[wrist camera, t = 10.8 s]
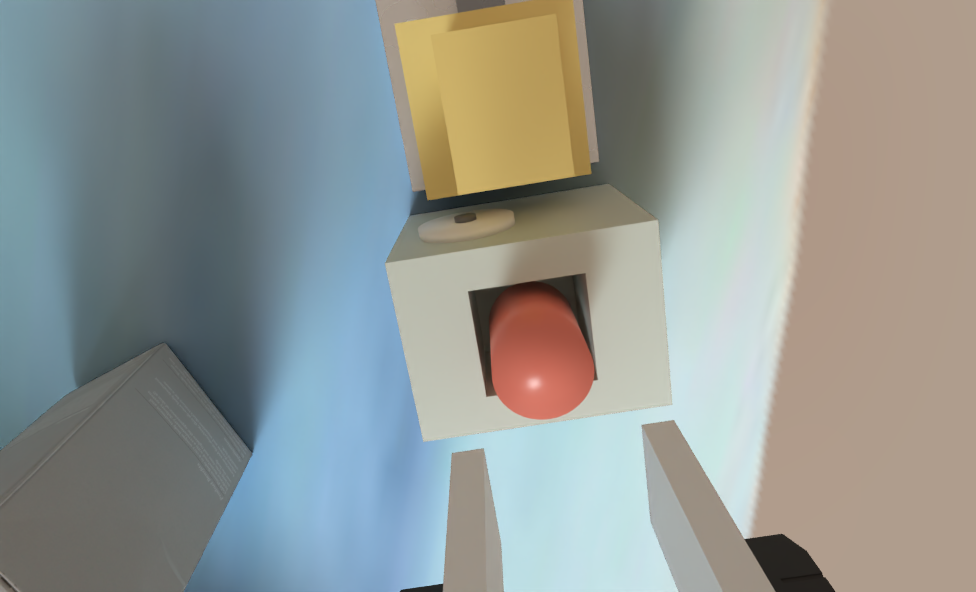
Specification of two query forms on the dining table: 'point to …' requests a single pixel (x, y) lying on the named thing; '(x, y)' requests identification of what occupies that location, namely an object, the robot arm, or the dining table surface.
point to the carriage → (496, 97)
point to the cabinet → (518, 259)
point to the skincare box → (117, 484)
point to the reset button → (538, 352)
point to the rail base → (413, 3)
